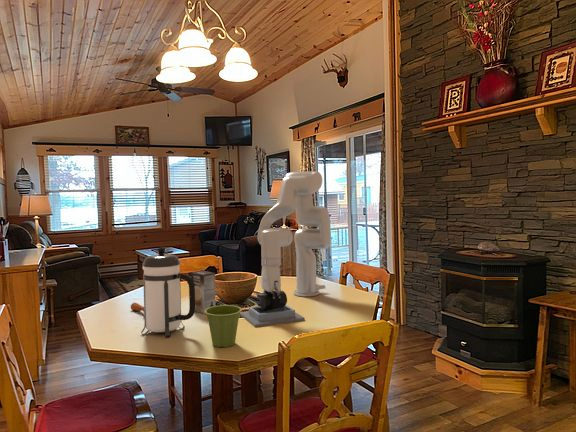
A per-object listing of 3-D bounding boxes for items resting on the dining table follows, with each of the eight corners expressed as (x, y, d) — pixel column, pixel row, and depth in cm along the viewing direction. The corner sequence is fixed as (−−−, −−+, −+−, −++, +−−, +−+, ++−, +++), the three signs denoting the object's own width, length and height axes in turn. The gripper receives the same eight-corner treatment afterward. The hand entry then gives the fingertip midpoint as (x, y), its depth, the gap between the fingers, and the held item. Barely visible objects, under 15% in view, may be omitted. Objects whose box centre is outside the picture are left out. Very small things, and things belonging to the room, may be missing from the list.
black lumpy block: (266, 313, 165) (265, 295, 164) (256, 309, 170) (256, 292, 170) (287, 309, 170) (287, 292, 170) (277, 305, 176) (277, 288, 176)
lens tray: (286, 309, 183) (286, 301, 182) (304, 320, 166) (304, 311, 166) (240, 314, 175) (240, 306, 175) (254, 327, 158) (254, 317, 158)
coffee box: (190, 310, 183) (190, 272, 182) (203, 307, 187) (202, 270, 187) (203, 314, 176) (203, 274, 176) (216, 311, 181) (215, 272, 180)
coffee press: (143, 342, 143) (141, 251, 142) (139, 328, 158) (137, 246, 156) (196, 335, 150) (194, 248, 148) (187, 322, 165) (185, 243, 163)
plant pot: (198, 348, 137) (197, 312, 136) (217, 336, 148) (216, 303, 148) (231, 352, 133) (230, 316, 132) (248, 340, 144) (248, 306, 143)
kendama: (142, 299, 187) (163, 304, 172) (140, 313, 186) (161, 319, 171) (128, 299, 183) (148, 304, 168) (126, 313, 182) (147, 319, 167)
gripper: (254, 259, 176) (255, 302, 177) (270, 265, 160) (270, 312, 161) (272, 258, 179) (272, 300, 180) (288, 264, 163) (289, 310, 164)
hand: (271, 305), depth 170 cm, fingers closed on black lumpy block, 8 cm apart
